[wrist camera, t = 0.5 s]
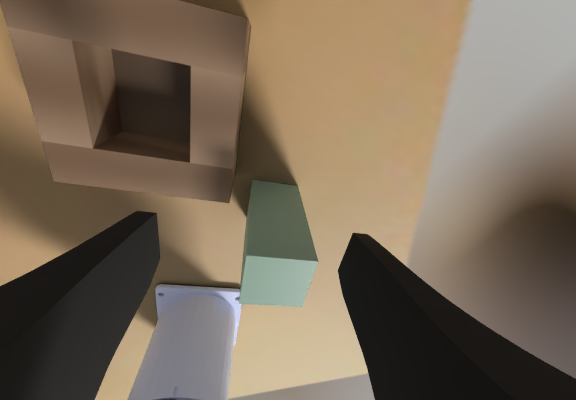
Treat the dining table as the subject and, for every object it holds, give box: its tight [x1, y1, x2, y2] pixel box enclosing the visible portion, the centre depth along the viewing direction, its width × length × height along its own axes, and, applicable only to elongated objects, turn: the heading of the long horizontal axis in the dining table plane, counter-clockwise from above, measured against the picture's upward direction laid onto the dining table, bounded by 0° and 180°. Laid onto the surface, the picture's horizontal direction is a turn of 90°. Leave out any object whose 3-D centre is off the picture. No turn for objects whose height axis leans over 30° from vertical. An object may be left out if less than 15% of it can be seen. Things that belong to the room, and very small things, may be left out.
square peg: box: [239, 179, 318, 307], centre depth 16 cm, size 4×4×8 cm
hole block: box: [0, 0, 251, 203], centre depth 13 cm, size 9×9×4 cm
